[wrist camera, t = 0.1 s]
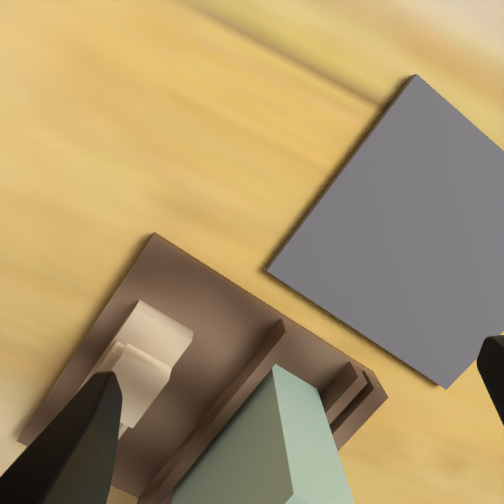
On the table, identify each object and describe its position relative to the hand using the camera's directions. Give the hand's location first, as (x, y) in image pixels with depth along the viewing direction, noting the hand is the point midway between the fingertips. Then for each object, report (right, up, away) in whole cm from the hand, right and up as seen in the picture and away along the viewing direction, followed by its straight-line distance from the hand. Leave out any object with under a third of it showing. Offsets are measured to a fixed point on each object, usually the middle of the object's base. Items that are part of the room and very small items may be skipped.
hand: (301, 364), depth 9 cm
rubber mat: (+10, +3, +16) cm, 19 cm away
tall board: (-2, -10, +19) cm, 21 cm away
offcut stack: (-10, -5, +17) cm, 20 cm away
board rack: (-5, -8, +18) cm, 21 cm away
